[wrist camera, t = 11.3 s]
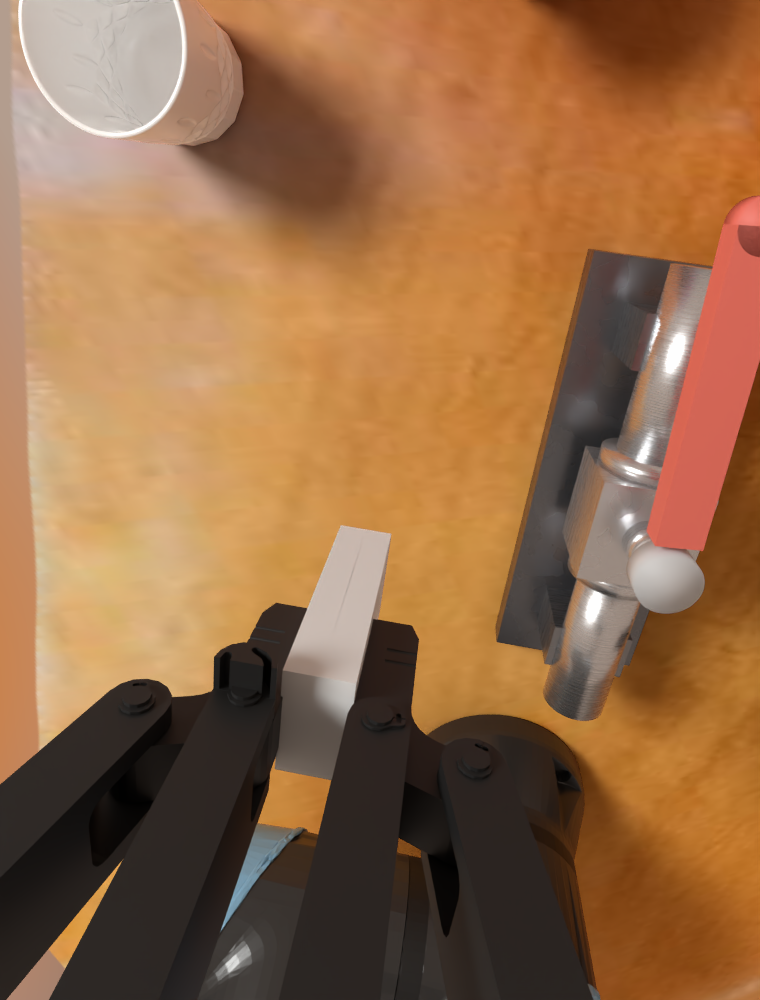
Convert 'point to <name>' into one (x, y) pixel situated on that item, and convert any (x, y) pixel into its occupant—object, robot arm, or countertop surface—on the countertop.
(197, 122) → the white cup
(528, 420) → the countertop surface
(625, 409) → the valve stand
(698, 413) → the valve lever
